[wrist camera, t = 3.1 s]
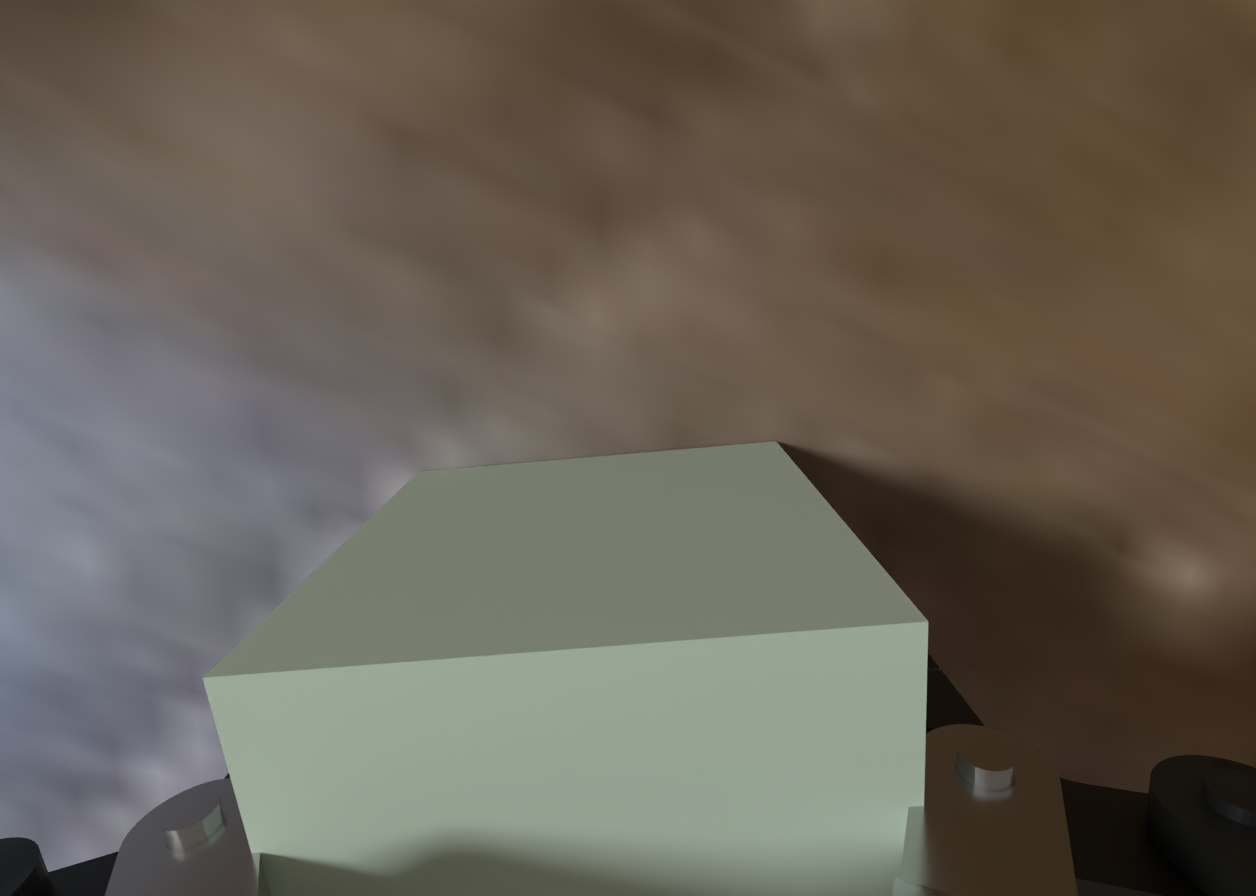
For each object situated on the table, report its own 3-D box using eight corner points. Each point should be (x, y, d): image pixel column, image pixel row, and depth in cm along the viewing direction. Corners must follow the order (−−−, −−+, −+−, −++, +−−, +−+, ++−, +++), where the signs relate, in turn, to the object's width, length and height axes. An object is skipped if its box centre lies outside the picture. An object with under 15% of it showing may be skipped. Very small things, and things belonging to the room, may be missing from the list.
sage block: (776, 441, 11) (928, 621, 6) (787, 749, 13) (916, 1146, 7) (418, 471, 12) (201, 678, 6) (471, 773, 13) (342, 1178, 7)
